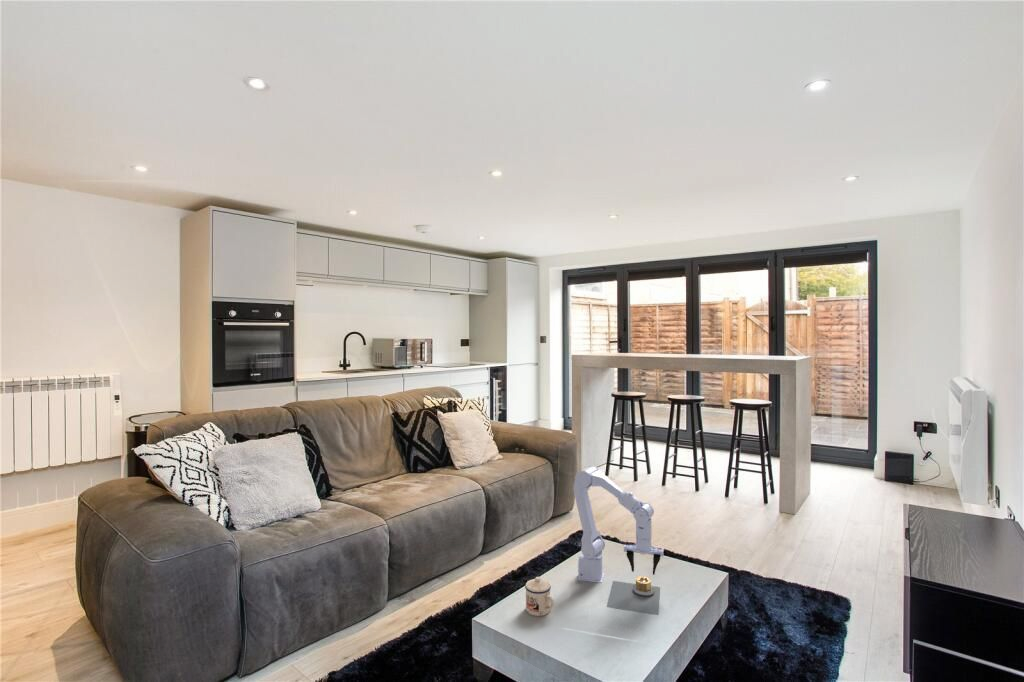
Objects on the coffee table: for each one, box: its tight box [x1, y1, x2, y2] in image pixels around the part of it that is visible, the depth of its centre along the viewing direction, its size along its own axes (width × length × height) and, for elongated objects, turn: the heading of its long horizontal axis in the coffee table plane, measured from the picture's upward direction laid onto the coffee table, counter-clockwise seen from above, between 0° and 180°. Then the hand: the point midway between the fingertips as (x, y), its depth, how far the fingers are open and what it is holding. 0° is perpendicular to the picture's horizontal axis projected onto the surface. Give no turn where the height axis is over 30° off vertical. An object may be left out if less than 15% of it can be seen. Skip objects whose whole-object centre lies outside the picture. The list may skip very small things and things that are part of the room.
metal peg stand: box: [633, 579, 655, 597], centre depth 199 cm, size 8×8×4 cm
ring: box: [635, 576, 652, 592], centre depth 199 cm, size 5×5×3 cm
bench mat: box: [606, 580, 661, 616], centre depth 195 cm, size 18×20×1 cm
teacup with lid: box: [524, 576, 555, 617], centre depth 186 cm, size 12×9×12 cm
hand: (643, 572), depth 199 cm, fingers open, 7 cm apart
